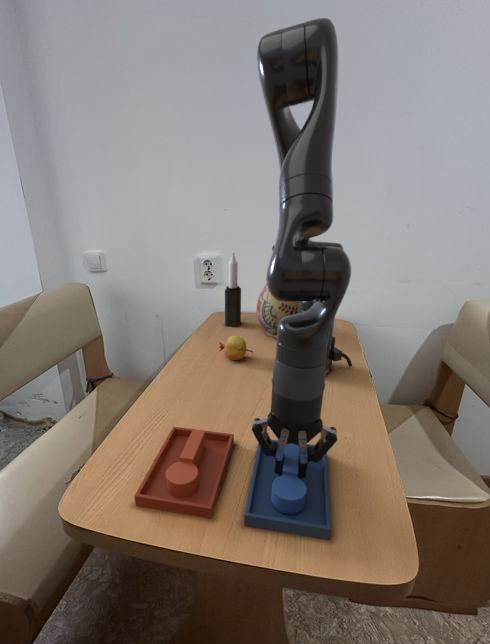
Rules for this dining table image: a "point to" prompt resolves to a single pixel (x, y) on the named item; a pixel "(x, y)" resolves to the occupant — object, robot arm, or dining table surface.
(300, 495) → the blue scoop
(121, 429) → the dining table surface
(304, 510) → the blue tray
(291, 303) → the ceramic jug
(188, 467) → the terracotta scoop
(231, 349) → the fruit
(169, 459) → the terracotta tray
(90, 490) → the dining table surface
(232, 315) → the candle
